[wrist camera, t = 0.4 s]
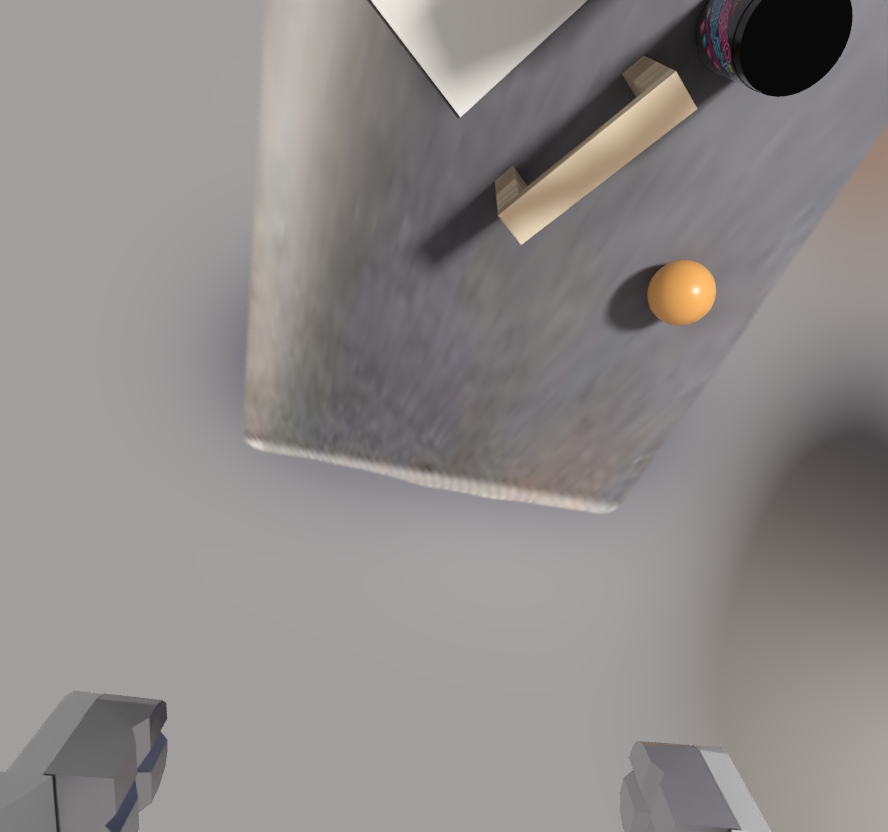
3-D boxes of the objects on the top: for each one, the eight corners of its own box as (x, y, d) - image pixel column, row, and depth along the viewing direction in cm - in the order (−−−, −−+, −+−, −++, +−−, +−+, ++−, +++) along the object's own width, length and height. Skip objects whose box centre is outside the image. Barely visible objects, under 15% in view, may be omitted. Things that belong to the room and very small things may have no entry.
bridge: (494, 180, 55) (498, 215, 47) (643, 55, 49) (676, 71, 41) (514, 206, 56) (521, 244, 48) (662, 87, 50) (697, 108, 42)
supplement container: (755, -52, 45) (820, -57, 36) (801, 25, 47) (872, 36, 39) (675, 27, 48) (718, 39, 39) (722, 95, 50) (772, 119, 42)
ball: (686, 237, 57) (705, 261, 52) (715, 283, 60) (737, 311, 55) (629, 276, 60) (643, 303, 55) (660, 319, 62) (676, 348, 57)
